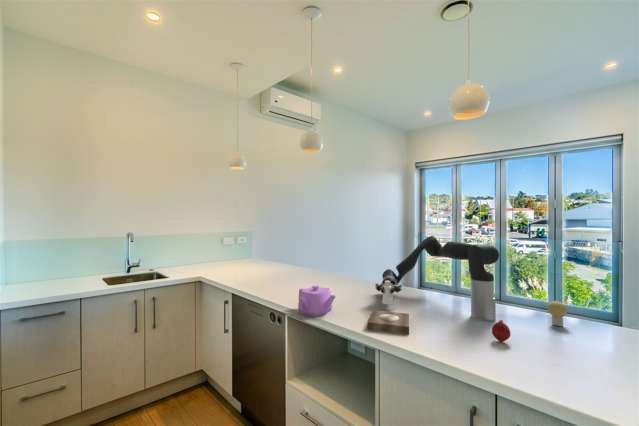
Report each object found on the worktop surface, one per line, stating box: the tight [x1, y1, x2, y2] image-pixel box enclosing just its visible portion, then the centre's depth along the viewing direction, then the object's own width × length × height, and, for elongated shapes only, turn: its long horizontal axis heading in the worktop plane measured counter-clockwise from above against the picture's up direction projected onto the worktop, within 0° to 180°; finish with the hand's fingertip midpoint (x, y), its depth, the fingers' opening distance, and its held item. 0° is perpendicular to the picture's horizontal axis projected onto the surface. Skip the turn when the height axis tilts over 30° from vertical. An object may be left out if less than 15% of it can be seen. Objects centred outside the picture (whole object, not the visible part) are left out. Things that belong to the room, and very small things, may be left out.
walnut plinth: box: [367, 309, 410, 335], centre depth 121 cm, size 16×16×3 cm
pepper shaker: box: [381, 281, 394, 305], centre depth 142 cm, size 5×5×11 cm
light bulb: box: [547, 300, 568, 327], centre depth 121 cm, size 6×6×10 cm
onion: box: [491, 319, 511, 343], centre depth 104 cm, size 6×6×8 cm
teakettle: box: [297, 285, 336, 318], centre depth 138 cm, size 17×17×12 cm
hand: (387, 291), depth 140 cm, fingers closed on pepper shaker, 3 cm apart
